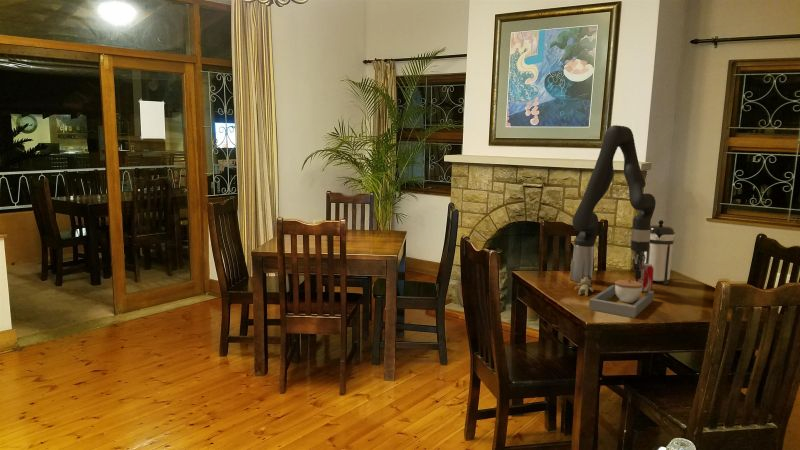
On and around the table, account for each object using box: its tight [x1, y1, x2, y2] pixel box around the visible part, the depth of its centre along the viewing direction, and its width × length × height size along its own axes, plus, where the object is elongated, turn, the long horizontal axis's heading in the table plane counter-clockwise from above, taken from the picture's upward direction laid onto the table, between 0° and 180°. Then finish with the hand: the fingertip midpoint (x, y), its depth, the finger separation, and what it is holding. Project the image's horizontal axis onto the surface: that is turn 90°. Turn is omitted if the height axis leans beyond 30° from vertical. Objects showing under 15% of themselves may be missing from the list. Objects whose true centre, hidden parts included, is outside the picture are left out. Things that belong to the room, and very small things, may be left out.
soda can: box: [635, 263, 654, 293], centre depth 258 cm, size 7×7×12 cm
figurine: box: [574, 275, 594, 297], centre depth 253 cm, size 8×6×15 cm
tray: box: [588, 284, 655, 319], centre depth 233 cm, size 17×32×4 cm, turn 145°
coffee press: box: [644, 219, 676, 286], centre depth 276 cm, size 17×16×30 cm
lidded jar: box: [614, 278, 643, 304], centre depth 239 cm, size 11×11×9 cm
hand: (637, 278), depth 250 cm, fingers closed
